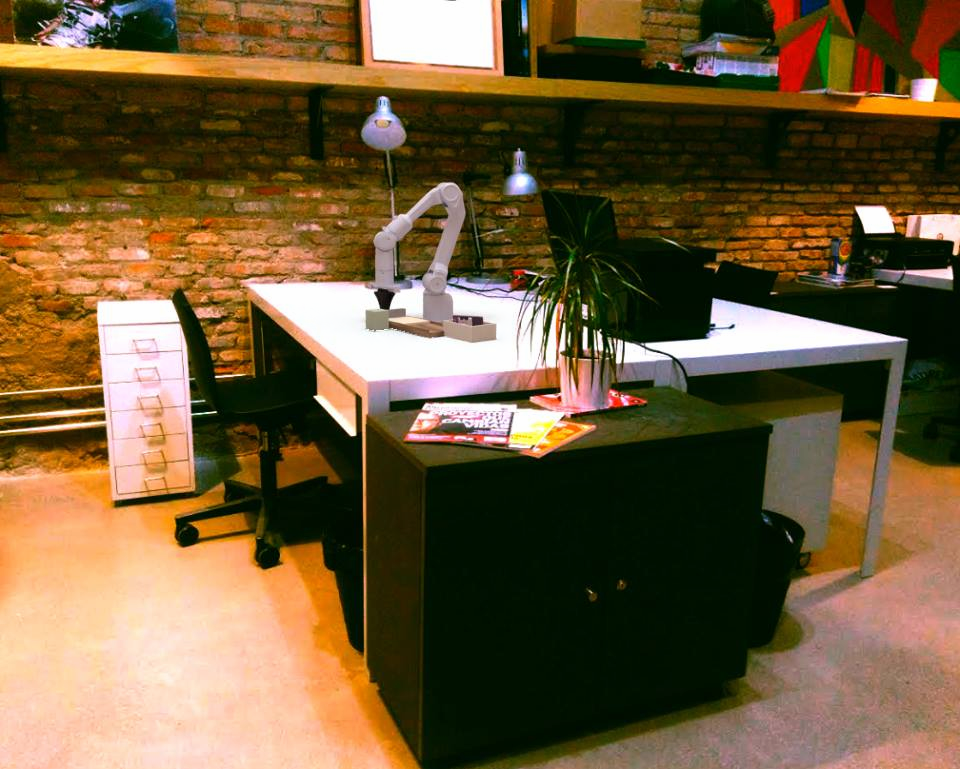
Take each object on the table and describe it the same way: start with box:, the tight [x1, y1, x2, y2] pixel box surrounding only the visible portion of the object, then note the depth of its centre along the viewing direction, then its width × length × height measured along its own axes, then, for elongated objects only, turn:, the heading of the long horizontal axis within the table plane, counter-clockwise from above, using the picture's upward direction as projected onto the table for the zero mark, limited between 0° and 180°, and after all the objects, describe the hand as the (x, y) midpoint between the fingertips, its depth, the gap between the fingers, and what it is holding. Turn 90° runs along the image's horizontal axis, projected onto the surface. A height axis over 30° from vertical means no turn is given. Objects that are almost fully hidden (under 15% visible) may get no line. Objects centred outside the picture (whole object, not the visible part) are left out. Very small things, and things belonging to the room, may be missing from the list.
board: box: [389, 315, 445, 339], centre depth 260 cm, size 11×27×2 cm, turn 40°
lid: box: [388, 307, 430, 325], centre depth 264 cm, size 10×13×3 cm
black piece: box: [453, 314, 484, 326], centre depth 248 cm, size 7×5×9 cm
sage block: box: [365, 308, 390, 332], centre depth 259 cm, size 5×5×6 cm
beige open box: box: [442, 318, 497, 343], centre depth 248 cm, size 9×13×4 cm
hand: (384, 313), depth 272 cm, fingers closed
